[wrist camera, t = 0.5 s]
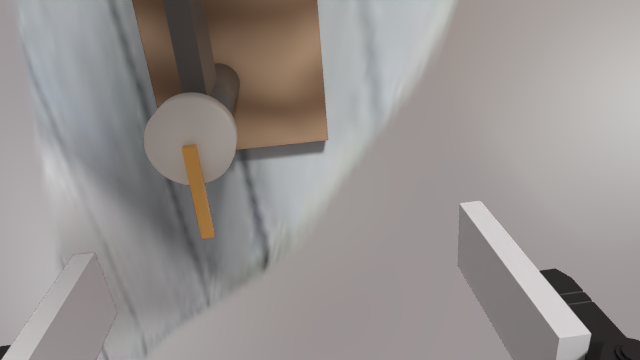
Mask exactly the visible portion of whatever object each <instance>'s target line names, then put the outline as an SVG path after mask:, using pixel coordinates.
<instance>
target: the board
mask: <svg viewBox="0 0 640 360" xmlns="http://www.w3.org/2000/svg"><path fill="white" fill-rule="evenodd" d="M203 1H204V7H205V13H206V19H207V24H208V30H209V36H210V41H211V47H212V53H213V58H214V64H217V63H221V64H225V65H228V66H230V67H231V68H232V69H233V70H234V71H235V72H236V73H237V75H238V77H239V81H240V88H239V91H238V94H237V98H236V101H235V104H234V107H233V111H232V116H233V118H234V120H235V123H236V126H237V132H238V140H237V145H236V150H240V149H249V148H259V147H268V146H278V145H287V144H296V143H306V142H315V141H324V140H328V131H327V119H326V106H325V94H324V81H323V68H322V56H321V43H320V31H319V18H318V5H317V0H203ZM132 2H133V6H134V10H135V15H136V19H137V23H138V27H139V32H140V36H141V40H142V44H143V49H144V53H145V57H146V61H147V66H148V70H149V74H150V78H151V82H152V87H153V91H154V95H155V99H156V104H157V108H159V107H160V106H161V105H162V104H163V103H164V102H165V101H166V100H168V99H169V98H171V97H173V96H175V95H178V94H181V93H182V89H181V84H180V79H179V75H178V70H177V65H176V60H175V56H174V51H173V46H172V41H171V36H170V32H169V27H168V22H167V17H166V13H165V8H164V3H163V0H132ZM236 150H235V154H234V156H236Z"/></svg>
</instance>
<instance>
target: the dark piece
mask: <svg viewBox="0 0 640 360" xmlns="http://www.w3.org/2000/svg"><path fill="white" fill-rule="evenodd" d="M163 3H164V8H165V13H166V17H167V22H168V27H169V32H170V36H171V41H172V46H173V51H174V56H175V60H176V65H177V70H178V75H179V79H180V84H181V89H182V93H181V94H178V95H175V96H173V97H171V98H169V99H168V100H166V101H165V102H164V103H163V104H162V105H161V106H160V107H159V108H158V109H157V111H156V112H155V113H154V114H153V115H152V117H151V118H150V119H149V121H148V123H147V125H146V127H145V131H144V148H145V152H146V155H147V157H148V159H149V161H150V162H151V164H152V165H153V166H154V168H155V169H156V170H157V171H158V172H159V173H161V174H162V175H163V176H165V177H166V178H168V179H170V180H172V181H174V182H177V183H180V184H185V185H190V189H191V193H192V198H193V202H194V207H195V211H196V216H197V220H198V225H199V229H200V234H201V238H202V239H207V238H214V235H215V231H214V227H213V222H212V217H211V212H210V207H209V202H208V197H207V193H206V188H205V184H206V183H209V182H211V181H214V180H216V179H217V178H219V177H220V176H221V175H223V174H224V173H225V172H226V171H227V169H228V168H229V166H230V165H231V163H232V161H233V158H234V154H235V150H236V145H237V140H238V132H237V126H236V123H235V120H234V118H233V116H232V111H233V107H234V104H235V101H236V98H237V94H238V91H239V88H240V81H239V77H238V75H237V73H236V72H235V71H234V70H233V69H232V68H231V67H230V66H228V65H225V64H221V63H217V64H214V58H213V53H212V47H211V41H210V36H209V30H208V24H207V19H206V13H205V7H204V1H203V0H163Z"/></svg>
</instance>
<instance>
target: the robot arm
mask: <svg viewBox="0 0 640 360" xmlns="http://www.w3.org/2000/svg"><path fill="white" fill-rule="evenodd" d="M458 267H459V269H460V270H461V272H462V274H463V276H464V277H465V279H466V281H467V282H468V284H469V286H470V287H471V289H472V291H473V293H474V294H475V296H476V298H477V299H478V301H479V303H480V305H481V306H482V308H483V310H484V311H485V313H486V315H487V317H488V318H489V320H490V322H491V323H492V325H493V327H494V328H495V330H496V332H497V333H498V335H499V337H500V339H501V340H502V342H503V344H504V346H505V347H506V349H507V351H508V352H509V354H510V356H511V357H512V359H513V360H640V341H639V340H636V339H630V338H626V337H625V335H624V334H623V333H622V332H621V331H620V330H619V329H618V328H617V327H616V326H615V325H614V323H612V321H611V320H610V319H609V318H608V317H607V316H606V315H605V314H604V313H603V312H602V311H601V309H600V308H599V307H598V306H597V305H596V304H595V303H594V302H592V300H591V298H590V297H589V296H588V295H587V294H586V293H585V292H584V293H583V290H582V289H581V288H580V287H579V286H578V284H577V283H576V282H575V281H574V280H573V279H572V278H571V277H569V276H567V275H566V274H564V273H562V272H561V271H559V270H557V269H549V270H542V271H538V269H537V268H536V267H535V266H534V264H533V263H532V262H531V261H530V260H529V259H528V257H527V256H526V255H525V254H524V253H523V252H522V250H521V249H520V248H519V247H518V245H517V244H516V243H515V242H514V241H513V239H512V238H511V237H510V236H509V235H508V233H507V232H506V231H505V230H504V229H503V227H502V226H501V225H500V224H499V223H498V221H497V220H496V219H495V218H494V217H493V216H492V214H491V213H490V212H489V211H488V210H487V208H486V207H485V206H484V205H483V203H482V202H481V201H475V202H467V203H460V206H459V239H458ZM117 313H118V312H117V309H116V306H115V304H114V301H113V298H112V296H111V293H110V291H109V288H108V285H107V283H106V280H105V277H104V275H103V272H102V269H101V267H100V264H99V262H98V259H97V256H96V254H95V252H92V253H84V254H77V255H73V256H72V257H71V259H70V260H69V262H68V263H67V265H66V266H65V268H64V269H63V270H62V272H61V273H60V275H59V276H58V278H57V279H56V281H55V282H54V284H53V285H52V287H51V288H50V289H49V291H48V292H47V294H46V295H45V297H44V298H43V300H42V301H41V303H40V304H39V305H38V307H37V309H36V310H35V311H34V313H33V314H32V316H31V317H30V319H29V320H28V322H27V323H26V324H25V326H24V327H23V329H22V330H21V332H20V333H19V335H18V336H17V338H16V339H15V341H14V342H13V343H12V345H7V346H1V347H0V360H96V359H97V357H98V355H99V353H100V350H101V348H102V346H103V344H104V342H105V339H106V337H107V335H108V333H109V330H110V328H111V326H112V324H113V322H114V319H115V317H116V315H117Z"/></svg>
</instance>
